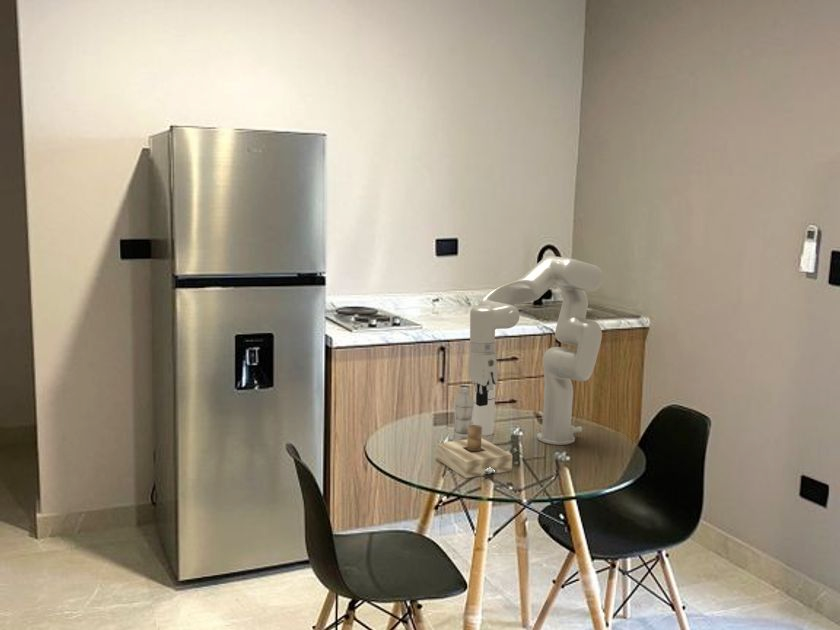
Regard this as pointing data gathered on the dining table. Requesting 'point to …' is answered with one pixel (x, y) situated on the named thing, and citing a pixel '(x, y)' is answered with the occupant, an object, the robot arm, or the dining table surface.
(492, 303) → the robot arm
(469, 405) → the plastic bottle
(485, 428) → the cylindrical container
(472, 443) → the peg
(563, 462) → the dining table surface
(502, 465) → the block
